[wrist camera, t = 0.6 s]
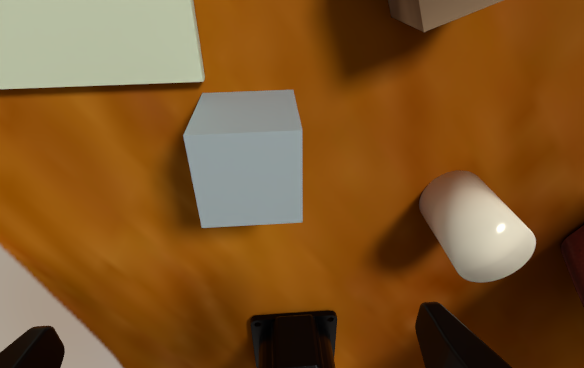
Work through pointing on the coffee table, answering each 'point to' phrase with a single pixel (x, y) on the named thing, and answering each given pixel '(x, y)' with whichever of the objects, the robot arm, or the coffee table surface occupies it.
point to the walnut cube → (434, 11)
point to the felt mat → (98, 43)
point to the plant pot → (575, 259)
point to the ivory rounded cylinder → (475, 227)
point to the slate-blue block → (246, 158)
